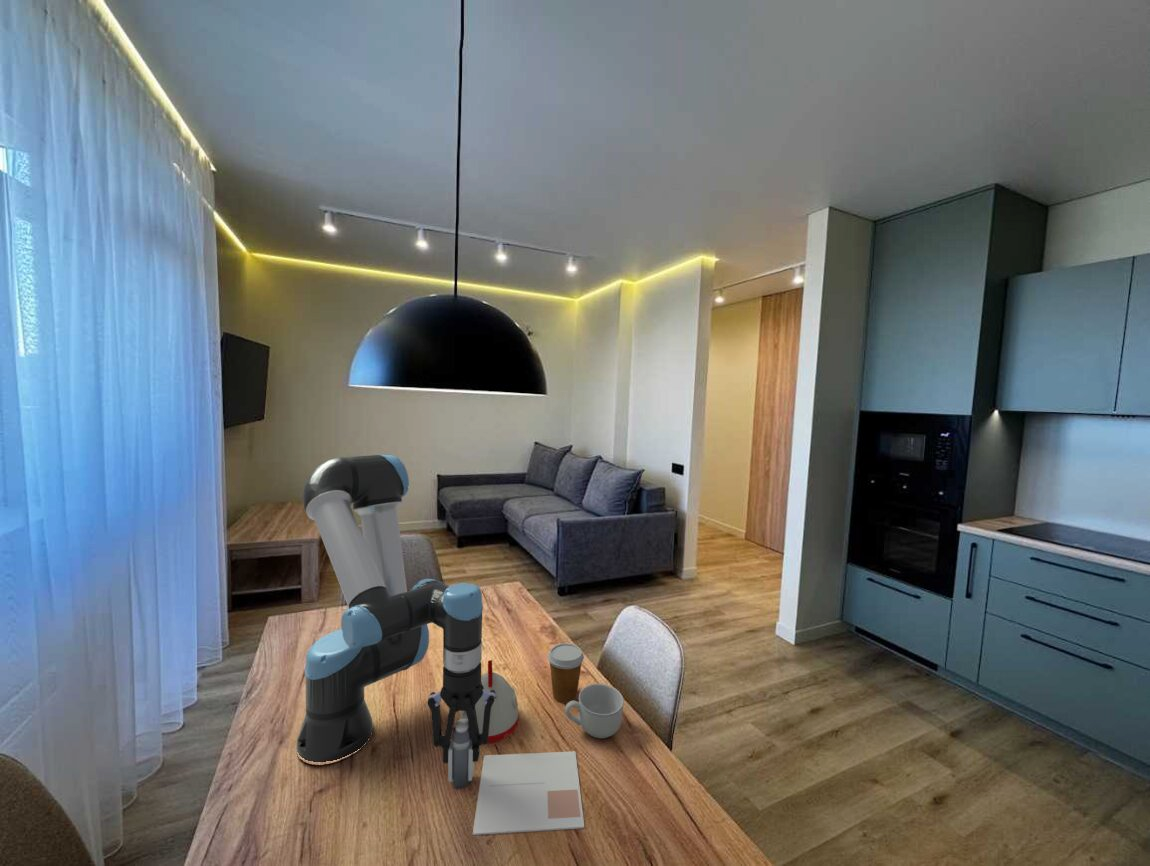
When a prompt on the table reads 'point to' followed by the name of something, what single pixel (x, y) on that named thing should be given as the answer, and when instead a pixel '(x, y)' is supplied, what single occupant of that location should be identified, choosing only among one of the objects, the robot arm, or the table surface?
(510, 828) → the paper
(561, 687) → the disposable coffee cup
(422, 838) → the table surface
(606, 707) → the teacup
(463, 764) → the marker
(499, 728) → the kitchen timer
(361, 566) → the robot arm
